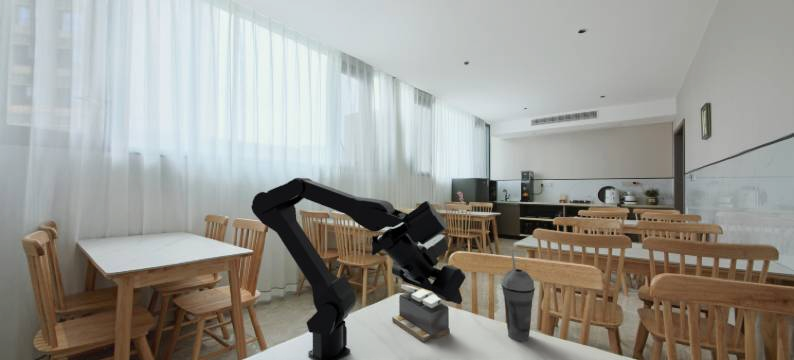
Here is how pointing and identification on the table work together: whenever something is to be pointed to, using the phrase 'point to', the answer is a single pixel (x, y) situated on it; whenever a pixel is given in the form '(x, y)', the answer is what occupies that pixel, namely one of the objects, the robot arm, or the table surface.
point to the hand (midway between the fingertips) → (445, 295)
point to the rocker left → (410, 288)
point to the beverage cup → (518, 302)
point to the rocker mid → (421, 294)
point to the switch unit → (422, 318)
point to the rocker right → (432, 301)
